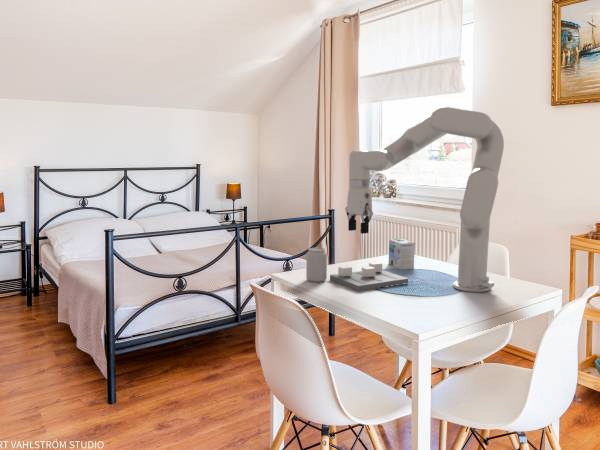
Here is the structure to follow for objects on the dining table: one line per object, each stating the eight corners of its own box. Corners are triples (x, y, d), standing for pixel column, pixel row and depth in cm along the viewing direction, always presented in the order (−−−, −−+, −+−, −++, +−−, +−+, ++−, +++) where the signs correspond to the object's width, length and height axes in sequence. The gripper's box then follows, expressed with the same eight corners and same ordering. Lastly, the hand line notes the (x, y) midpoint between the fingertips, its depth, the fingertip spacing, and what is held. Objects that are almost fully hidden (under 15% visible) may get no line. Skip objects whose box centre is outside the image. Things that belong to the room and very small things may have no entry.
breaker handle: (375, 276, 191) (375, 268, 190) (366, 277, 189) (366, 269, 188) (370, 274, 193) (370, 266, 193) (361, 275, 191) (361, 267, 191)
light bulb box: (387, 264, 222) (388, 239, 220) (402, 263, 224) (402, 238, 222) (399, 269, 212) (400, 243, 210) (414, 268, 214) (415, 242, 212)
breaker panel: (408, 283, 189) (408, 269, 188) (358, 291, 178) (358, 276, 177) (377, 273, 204) (377, 260, 204) (329, 280, 194) (330, 266, 193)
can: (315, 284, 188) (315, 251, 186) (302, 280, 194) (302, 248, 192) (330, 280, 193) (331, 249, 191) (317, 277, 198) (317, 246, 197)
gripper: (382, 185, 187) (380, 234, 189) (353, 182, 202) (353, 228, 204) (365, 186, 183) (363, 235, 186) (337, 183, 198) (337, 229, 201)
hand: (358, 231), depth 195 cm, fingers open, 7 cm apart
